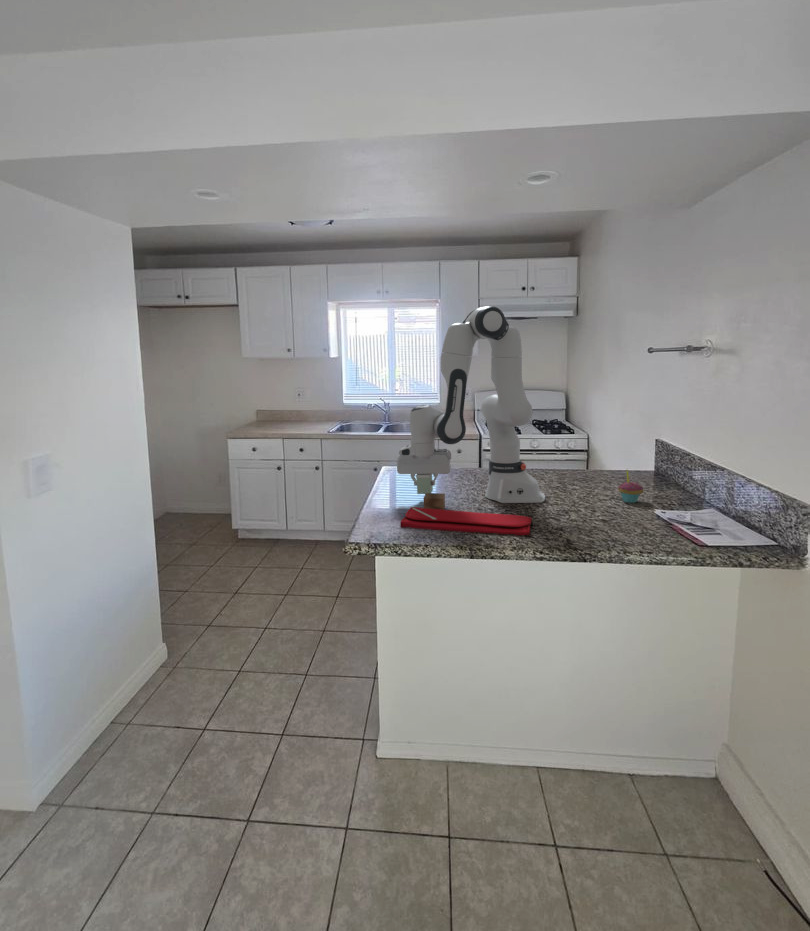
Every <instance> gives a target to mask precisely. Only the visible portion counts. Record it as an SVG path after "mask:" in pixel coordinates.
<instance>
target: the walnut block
mask: <svg viewBox="0 0 810 931" xmlns="http://www.w3.org/2000/svg"><path fill="white" fill-rule="evenodd" d="M445 507H446V494H445V493H435V492H434V493H433V492H431V493H426V494H424V496H423V508H428V509H441V510H445Z"/></svg>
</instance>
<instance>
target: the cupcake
mask: <svg viewBox="0 0 810 931" xmlns="http://www.w3.org/2000/svg"><path fill="white" fill-rule="evenodd" d="M618 492H619V493H620V496H621V499H622V502H624V503H629V504H631V503H632V504H633V503H637V502H638V499H639V497H640V495H642V494H643V492H644V487H643V486H642V485H641V484H640V483H638V482H634V481H630V477H629V470H626V482H623V483H621V484H620V485H619V486H618Z"/></svg>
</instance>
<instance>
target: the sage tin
mask: <svg viewBox="0 0 810 931" xmlns="http://www.w3.org/2000/svg"><path fill="white" fill-rule="evenodd" d="M415 478H416V480H417V486H416V489H417V490H416V491H417V492H416V493H417V495H425V494H426V493H433V491H434V490H433V489H434V486H431V480H433V474H415Z"/></svg>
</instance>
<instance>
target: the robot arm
mask: <svg viewBox="0 0 810 931" xmlns="http://www.w3.org/2000/svg"><path fill="white" fill-rule="evenodd" d="M480 339H481V340H484V339H486V340H488V341H489V344H490V348H491V350H490V352H491V353H490V355H491V356H490V357H491V360H490V367H491V368H490V377H491V378H490V379H491V381H492V383H493V385H494V386H495V387H494V388H495V391H496V394H495V393H494V394H491V395H488V396H486V398H484V399H483V401H482V403H481V408H480V409H481V413H482V415H483V417H484V418H485V422H486V425H487V430H488V434H489V435H488V436H489V445H490V446H489V448H490V449H489V454H490V455H489V458H490V459H489V460H488V466H487V467H488V483H487V488H486V492H485V495H484V496H485V498H486V499H489V500H492V501H496V502H499V503H501V504H521V503H522V504H525V503H527V504H529V503H530V504H533V503H534V504H536V503H537V504H538V503H543V502H544V501H545V500H546V494H545V493H544V492H542V491H540V486H539V482H538V481H537V479H536V478H535V477H533V476H532V475H531V474H530V473H528V472H527V471H525V470H526V468H527V464H526V463H525V462H524V461H521V460H520V456H521V451H520V450H521V440H520V438H519V436H518V434H517V432H516V428H515V427H521V426H525V425H526V424H528V423H529V422H530V420H531V419H532V417H533V410H534V409H533V407H532V406H533V405H532V404H531V403H530V401H529V400H528V398H527V395H526V392H525V388H524V383H523V369H522V367H523V366H522V365H523V361H522V360H523V355H522V354H523V353H522V352H523V348H522V340H521V334H520V330H518V328H517V327H514V326H511V325H509V323H508V320H507V319H506V316H505V314H504V313H503V311H502V309H500V308H498V307H497V306H495V305H487V306H480V307H478V308H476V309H474V310H472V311H471V312H470V313H468V315H467V316H466V318H464V320H463V322H456V323H452V324H451V325H450V326H448V327H447V330H446V333H445V336H444V340H443V344H442V348H441V354H440V372H441V375H442V376H443V378H444V380H445V383H446V387H447V388H446V389H447V392H446V393H447V394H446V402H445V409H444V410H445V411H444V410H440V409H437V408H435V407H433V405H430V404H421V405H417V406H414V407H413V408H412V409H411V411H410V413H409V414H410V415H409V431H410V434H411V437H410V444H409V445H405V446H403V447H401V448H399V450H398V455H399V456H398V458H397V462H396V472H397V473H398V474H399V475H410V478H411V480H412V481H413V486H414V487H415V486H416V487H417V478H416V475H417V474H432V477H433V479H432V480H431V486H433V487H434V486H436V480H437V479H438V476H439V475H449V474H450V473H451V472H452V464H451V459H452V453H451V451H450V450H448V449H447V448H436V444H435V443H436V442H435V439H436V438H439V440H441V442H443V443H444V444H446V445H456V444H458V443H460V442H461V441H462V440H463V439H464V438H465V435H466V432H467V431H466V430H467V429H466V428H467V426H466V422H465V419H464V411H465V410H464V409H465V400H466V391H467V385H468V384H467V383H468V378H469V373H470V368H471V364H472V357H473V352H474V346H475V344H476V342H477V341H478V340H480Z"/></svg>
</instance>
